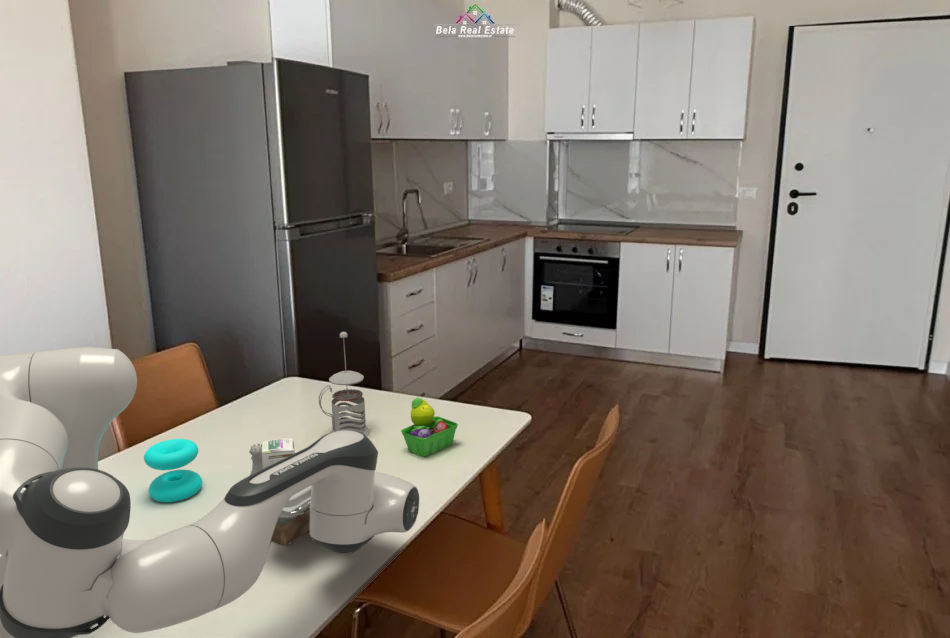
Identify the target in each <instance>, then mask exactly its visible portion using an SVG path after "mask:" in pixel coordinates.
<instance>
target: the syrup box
mask: <svg viewBox="0 0 950 638" xmlns="http://www.w3.org/2000/svg"><path fill="white" fill-rule="evenodd" d="M261 444H262V464H263V469H264V468H266V467H268V466H270V465H272V464H274V463H276V462H278V461H280V460H282V459H284V458H286V457H288V456H291V455H293V454H295V453H296V449H295V440H294V438H276V439H270V440H265V441H262V442H261ZM298 516H300V514H299V515H297V516H295V517H291V518H283V517H279V518H278V521H277V523H278V524H282V525H286V524H288V523H289V522H291V521H292V520H294V519H295V518H297V517H298Z"/></svg>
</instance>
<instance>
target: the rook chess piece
mask: <svg viewBox="0 0 950 638" xmlns="http://www.w3.org/2000/svg"><path fill="white" fill-rule="evenodd" d="M248 453H249V454H250V455H251V458H250V460H251V462H252V466H251V471H250V474H249V476H250V475H252V474H254V473H256V472H258V471H260V470H262V469H263V464H262V443H257V445H256V444H255V443H254V444H253V445H250V449H249V452H248Z"/></svg>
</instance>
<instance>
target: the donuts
mask: <svg viewBox="0 0 950 638" xmlns="http://www.w3.org/2000/svg"><path fill="white" fill-rule="evenodd" d="M198 454H199V447H198V445H197V444H196V443H195V441H193V440H190V439H186V438H174V439H173V438H172V439H168V440H167V439H166V440H163V441H160V442H157V443H154V444H153V445H152V446H150V447H149V448H147V449H146V451H145V453H144V454H143V455H144V456H143V462H145V464H146V466H148V467H149V468H150V469H154V470H159V471H167V472H165V473H162V474H160V475H158V476H157V477H155V478H154V479H153V480H152V481H151V483H150V484H149V487H148V494H149V496H150V497H151V498H152V500H154V501H156V502H160V503H174V502H176V503H177V502H181V501H183V500H186V499H189V498H191V497H192V496H194V495H196V494H197V493H198V492H199V491H200V490H201V488H202V487H203V479H202V477H201V475H200V474H198V473H197V472H196V471H193V470H191V469H190V470H189V469H180V468H183V467H185V466H187V465H189V464H191V463H192V462H193V461H195V459H196V458H197V457H198Z"/></svg>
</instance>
